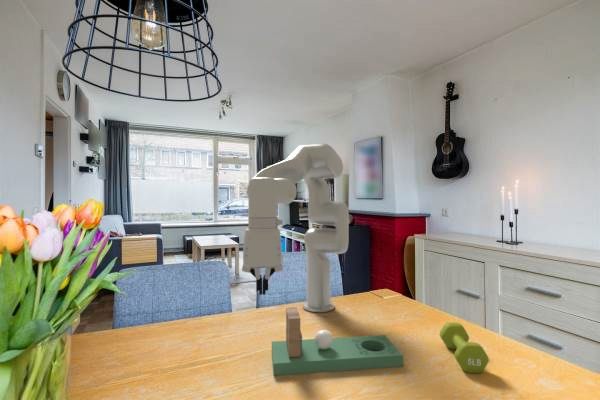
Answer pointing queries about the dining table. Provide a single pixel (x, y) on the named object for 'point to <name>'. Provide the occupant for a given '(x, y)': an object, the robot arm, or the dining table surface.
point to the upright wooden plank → (293, 332)
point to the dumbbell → (464, 348)
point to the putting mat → (337, 355)
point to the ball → (323, 339)
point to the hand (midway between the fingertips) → (262, 293)
